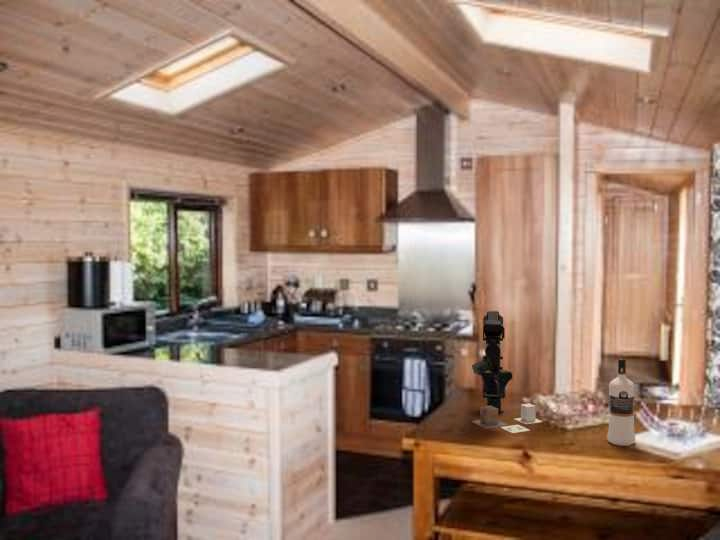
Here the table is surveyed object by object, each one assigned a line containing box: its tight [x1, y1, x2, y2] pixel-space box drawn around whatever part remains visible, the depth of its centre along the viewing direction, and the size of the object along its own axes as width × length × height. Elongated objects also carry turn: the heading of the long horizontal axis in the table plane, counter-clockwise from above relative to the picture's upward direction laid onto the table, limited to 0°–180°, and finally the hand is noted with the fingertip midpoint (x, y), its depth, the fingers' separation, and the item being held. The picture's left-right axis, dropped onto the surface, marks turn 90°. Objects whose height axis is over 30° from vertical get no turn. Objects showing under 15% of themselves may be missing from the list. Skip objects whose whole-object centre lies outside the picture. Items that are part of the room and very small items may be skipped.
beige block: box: [520, 403, 537, 422], centre depth 262 cm, size 4×4×6 cm
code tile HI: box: [514, 417, 543, 425], centre depth 262 cm, size 8×8×1 cm
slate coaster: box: [471, 419, 508, 429], centre depth 259 cm, size 10×10×1 cm
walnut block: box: [479, 405, 499, 426], centre depth 259 cm, size 5×5×6 cm
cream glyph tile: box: [500, 424, 531, 434], centre depth 252 cm, size 8×8×1 cm
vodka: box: [606, 357, 636, 447], centre depth 234 cm, size 9×9×30 cm
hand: (493, 393), depth 259 cm, fingers open, 9 cm apart
